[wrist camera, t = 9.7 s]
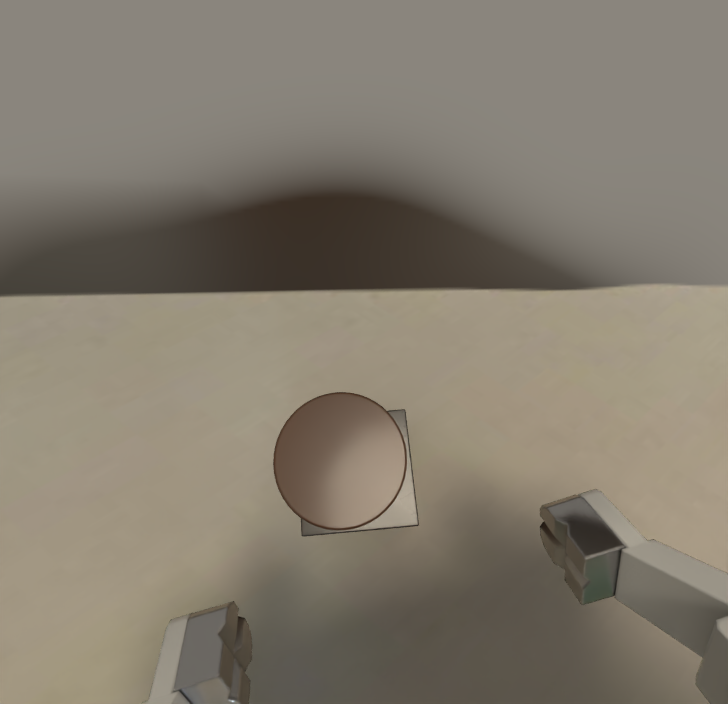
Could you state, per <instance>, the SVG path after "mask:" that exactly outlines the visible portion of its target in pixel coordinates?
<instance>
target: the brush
mask: <svg viewBox="0 0 728 704" xmlns="http://www.w3.org/2000/svg"><path fill="white" fill-rule="evenodd" d="M273 465H274V475H275V479H276V483H277V486H278V489H279V491H280V493H281V495H282V497H283V499H284V500H285V502H286V503H287V505H288V506H289V507H290V508H291V509H292V511H293V512H294V513H295V514H297V515H298V516H299V517H300V518H301V530H302V536H314V535H325V534H336V533H346V532H357V531H368V530H378V529H389V528H400V527H411V526H418V525H419V522H418V513H417V505H416V496H415V488H414V480H413V471H412V463H411V454H410V446H409V437H408V429H407V420H406V412H405V410H404V409H403V410H392V411H386V410H385V409H384V408H383V407H382V406H380V405H379V404H378V403H376V402H375V401H373V400H371V399H369V398H367V397H364V396H361V395H358V394H354V393H346V392H337V393H329V394H325V395H322V396H319V397H316V398H314V399H312V400H310V401H308V402H307V403H305V404H303V405H302V406H301V407H300V408H298V409H297V410H296V411H295V412H294V413H293V414H292V415H291V416H290V418H289V419H288V420H287V421H286V423H285V425H284V426H283V428H282V430H281V432H280V434H279V436H278V439H277V442H276V446H275V451H274V462H273Z"/></svg>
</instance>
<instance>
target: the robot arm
mask: <svg viewBox="0 0 728 704" xmlns="http://www.w3.org/2000/svg"><path fill="white" fill-rule="evenodd" d="M540 516H541V518H542V519H543V520H544V522H543V523H542V524H541V526H540V536H541V539H542V542H543V545H544V547H545V549H546V551H547V553H548V555H549V557H550V558H551V560H552V561H553V563H554V564H556V565H557V566H559V567H561V568H563V569H564V570H565V581H566V583H567V584H568V586H569V587H570V589H571V590H572V592H573V593H574V595H575V596H576V598H577V599H578V601H579V602H580V604H581V605H585V604H588V603H592V602H595V601H598V600H602V599H605V598H609V597H612V596H615V598H616V599H617V600H618V601H620V602H621V603H623V604H624V605H626V606H627V607H629V608H630V609H632V610H633V611H635V612H636V613H638V614H639V615H641V616H642V617H643V618H645V619H646V620H648V621H649V622H651V623H652V624H654V625H655V626H657V627H658V628H660V629H661V630H663V631H664V632H666V633H667V634H669V635H670V636H671V637H673V638H674V639H676V640H677V641H679V642H680V643H682V644H683V645H685V646H686V647H688V648H689V649H691V650H692V651H694V652H695V653H696V654H698V655H699V656H701V657H702V661H701V664H700V667H699V669H698V672H697V675H696V683H695V684H696V686H697V687H698V688H699V689H700V691H701V692H702V693H703V695H704V696H705V697H706V699H707V700H708V701H709V703H710V704H728V573H725V572H723V571H721V570H719V569H717V568H715V567H712V566H710V565H708V564H706V563H704V562H702V561H699V560H697V559H695V558H693V557H691V556H689V555H686V554H684V553H682V552H680V551H678V550H676V549H673V548H671V547H669V546H667V545H665V544H663V543H660V542H658V541H656V540H654V539H653V540H649V541H647V539H646V538H645V537H644V536H643V535H642V534H641V533H640V532H639V531H638V530H637V529H636V528H635V527H634V526H633V525H632V524H631V523H630V521H629V520H628V519H627V518H626V517H625V516H624V515H623V514H622V513H621V512H620V511H619V510H618V509H617V508H616V507H615V506H614V505H613V503H612V502H611V501H610V500H609V499H608V498H607V497H606V496H605V495H604V494H603V493H602V492H601V491H599V490H597V489H593V490H590V491H587V492H584V493H581V494H578V495H573V496H570V497H567V498H563V499H560V500H557V501H554V502H551V503H548V504H545V505H542V506H541V508H540ZM238 611H239V608H238V607H237V605H236V604H235V602H234V601H232V602H229V603H225V604H222V605H219V606H215V607H212V608H208V609H205V610H202V611H198V612H195V613H190V614H187V615H184V616H181V617H178V618H174V619H171V620H170V622H169V624H168V626H167V627H166V630H165V634H164V638H163V642H162V646H161V650H160V654H159V658H158V663H157V667H156V671H155V675H154V679H153V683H152V687H151V691H150V695H149V699H148V700H147V701H144V702H142V703H141V704H249V698H250V682H251V681H250V679H249V678H248V676H247V675H246V673H245V671H246V669H247V667H248V666H249V664H250V662H251V660H252V637H251V631H250V628H249V625H248V623H247V621H246V619H245V618H242V617H240V616H238Z"/></svg>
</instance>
